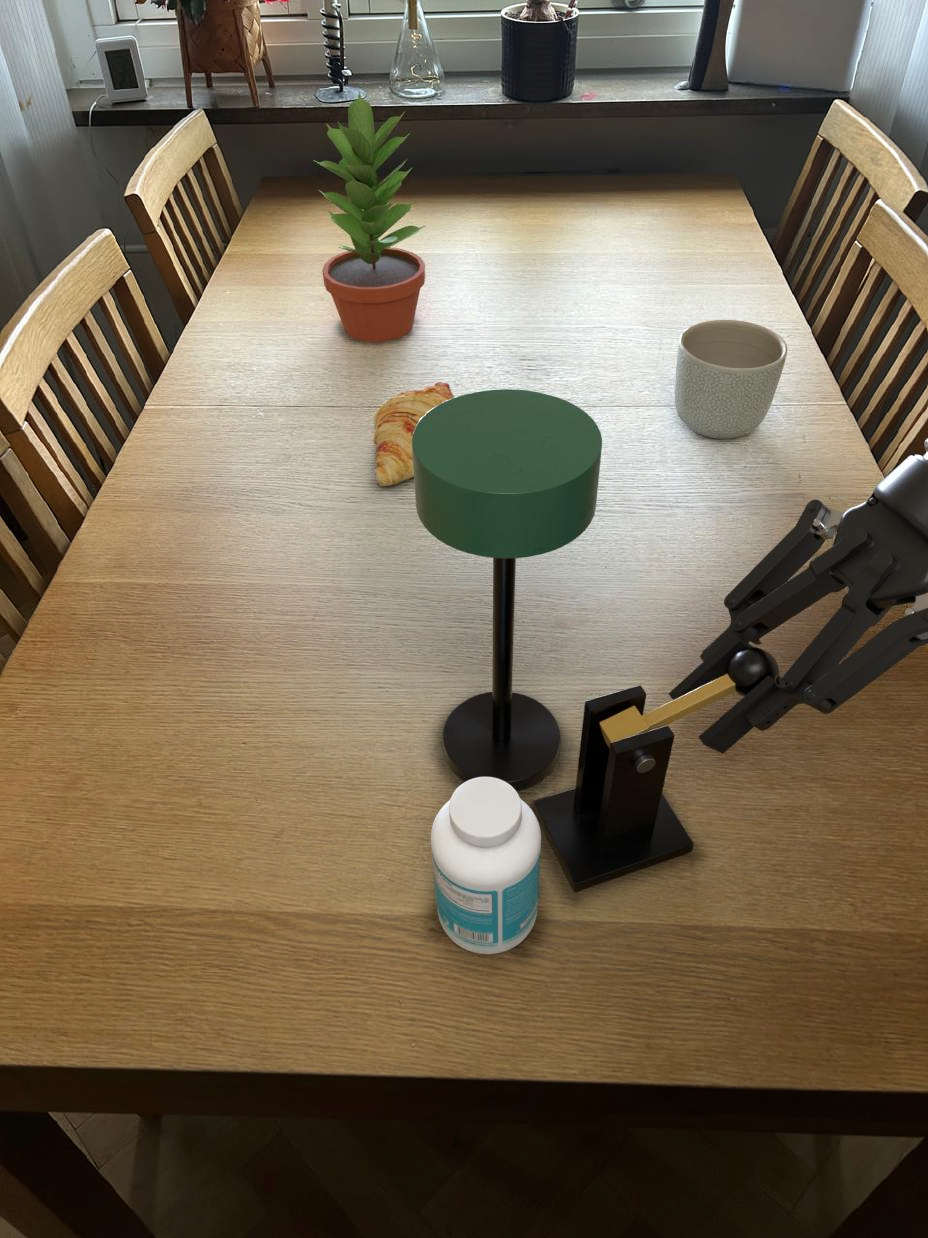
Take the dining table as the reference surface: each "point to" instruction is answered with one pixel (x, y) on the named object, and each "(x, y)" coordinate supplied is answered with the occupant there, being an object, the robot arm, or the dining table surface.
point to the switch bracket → (614, 801)
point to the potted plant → (371, 235)
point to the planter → (727, 376)
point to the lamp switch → (696, 696)
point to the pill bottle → (486, 866)
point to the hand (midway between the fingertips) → (695, 723)
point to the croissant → (402, 430)
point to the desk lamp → (505, 545)
